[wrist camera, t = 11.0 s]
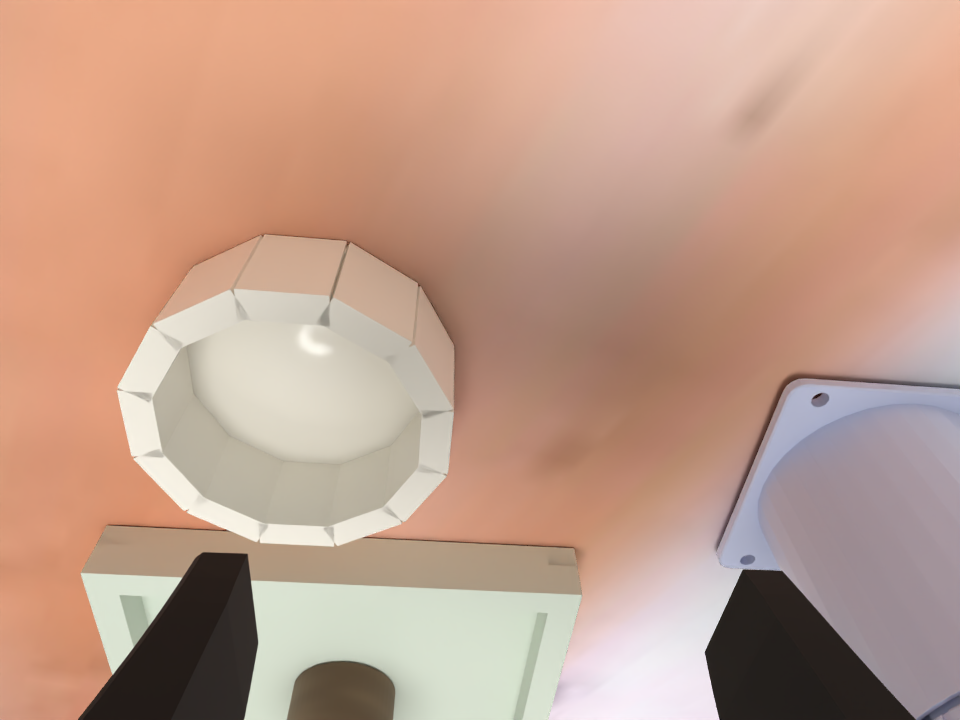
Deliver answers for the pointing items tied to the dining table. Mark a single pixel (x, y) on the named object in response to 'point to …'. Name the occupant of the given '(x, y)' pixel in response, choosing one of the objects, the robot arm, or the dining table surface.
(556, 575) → the tray
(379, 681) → the pin
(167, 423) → the bowl
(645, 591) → the dining table surface
